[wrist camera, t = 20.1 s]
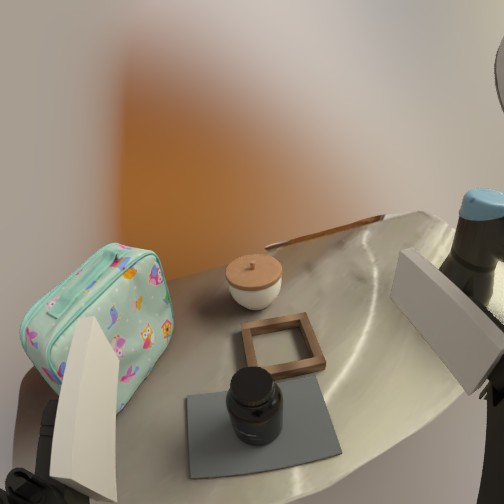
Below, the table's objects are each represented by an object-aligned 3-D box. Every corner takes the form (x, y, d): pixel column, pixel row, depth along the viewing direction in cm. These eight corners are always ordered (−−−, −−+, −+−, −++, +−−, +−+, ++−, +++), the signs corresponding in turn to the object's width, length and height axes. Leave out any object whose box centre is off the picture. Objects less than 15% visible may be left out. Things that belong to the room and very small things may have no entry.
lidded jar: (243, 280, 67) (238, 243, 62) (289, 288, 63) (288, 250, 58) (221, 311, 59) (213, 273, 54) (272, 323, 55) (269, 284, 50)
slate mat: (314, 377, 43) (315, 375, 43) (341, 453, 32) (342, 452, 31) (188, 397, 42) (187, 395, 42) (191, 478, 30) (190, 477, 30)
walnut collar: (305, 319, 55) (305, 312, 54) (325, 369, 44) (326, 362, 43) (241, 331, 54) (240, 323, 53) (250, 384, 43) (249, 377, 42)
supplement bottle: (237, 451, 33) (222, 413, 27) (231, 410, 39) (216, 363, 33) (288, 442, 34) (289, 402, 27) (278, 402, 39) (275, 353, 33)
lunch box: (146, 315, 59) (113, 223, 48) (187, 326, 56) (158, 226, 44) (69, 410, 38) (-3, 320, 27) (110, 438, 35) (29, 347, 24)
